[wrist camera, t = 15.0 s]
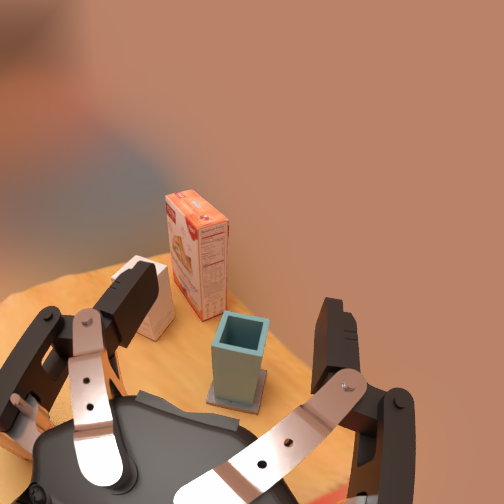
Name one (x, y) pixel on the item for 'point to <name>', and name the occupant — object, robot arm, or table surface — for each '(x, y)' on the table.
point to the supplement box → (163, 305)
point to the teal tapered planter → (238, 356)
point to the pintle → (235, 405)
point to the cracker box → (199, 251)
